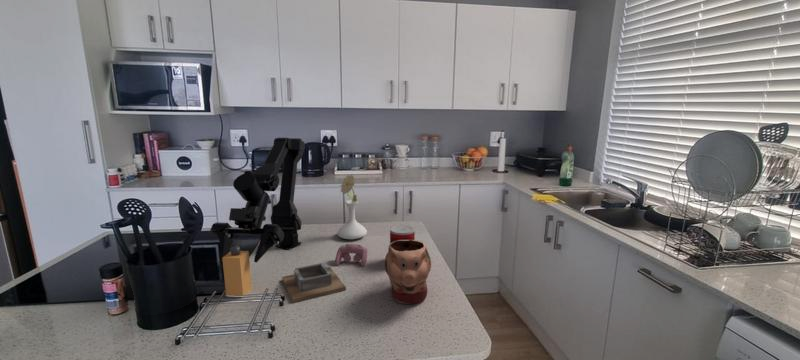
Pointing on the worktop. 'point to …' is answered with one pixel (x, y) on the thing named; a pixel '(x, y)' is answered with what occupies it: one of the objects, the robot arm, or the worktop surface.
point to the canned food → (402, 233)
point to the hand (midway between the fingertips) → (238, 261)
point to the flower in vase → (351, 212)
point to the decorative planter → (408, 270)
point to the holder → (312, 282)
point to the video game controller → (351, 248)
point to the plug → (237, 272)
